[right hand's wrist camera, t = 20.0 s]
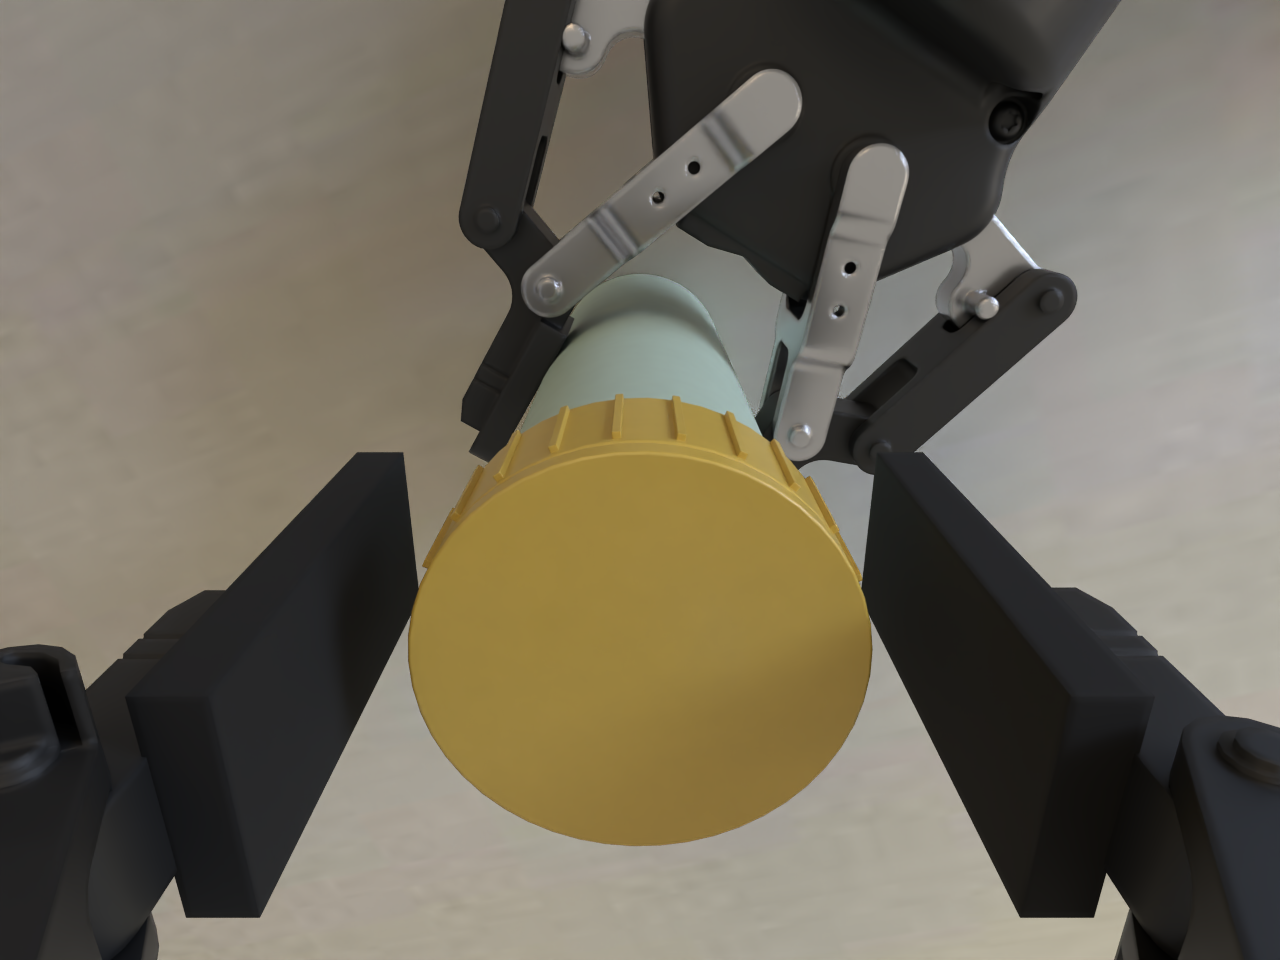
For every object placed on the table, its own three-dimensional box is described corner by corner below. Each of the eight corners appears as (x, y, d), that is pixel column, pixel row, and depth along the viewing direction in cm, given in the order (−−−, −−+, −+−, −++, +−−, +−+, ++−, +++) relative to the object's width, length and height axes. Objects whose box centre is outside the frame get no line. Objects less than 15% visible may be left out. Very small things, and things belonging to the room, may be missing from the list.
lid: (365, 506, 12) (305, 583, 10) (732, 315, 11) (754, 354, 9) (567, 791, 14) (554, 907, 11) (896, 651, 13) (947, 749, 10)
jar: (728, 281, 25) (867, 482, 10) (707, 434, 27) (796, 805, 12) (567, 265, 25) (450, 442, 10) (557, 420, 27) (444, 778, 11)
